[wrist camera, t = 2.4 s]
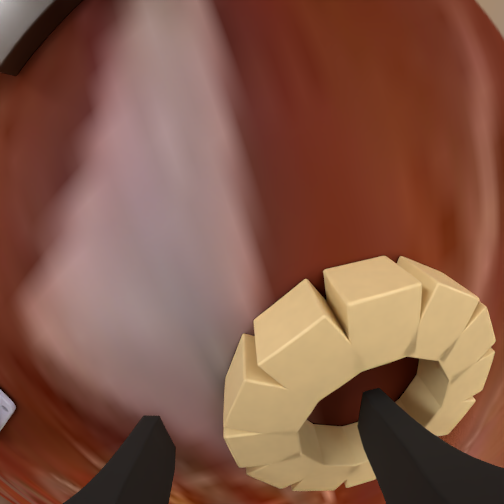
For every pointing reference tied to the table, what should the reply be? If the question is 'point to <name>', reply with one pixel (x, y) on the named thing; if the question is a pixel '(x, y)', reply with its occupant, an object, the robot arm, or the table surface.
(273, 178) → the table surface
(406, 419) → the robot arm
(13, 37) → the stand
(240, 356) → the yellow gear ring
